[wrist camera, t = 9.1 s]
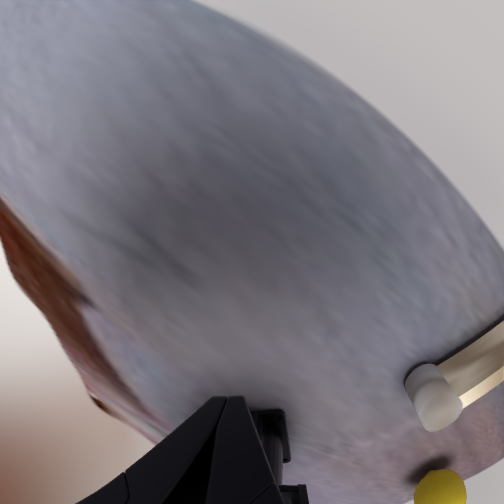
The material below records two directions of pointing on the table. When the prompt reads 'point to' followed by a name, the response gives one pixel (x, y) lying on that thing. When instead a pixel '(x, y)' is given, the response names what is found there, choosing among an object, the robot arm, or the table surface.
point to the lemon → (440, 488)
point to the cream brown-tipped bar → (457, 380)
